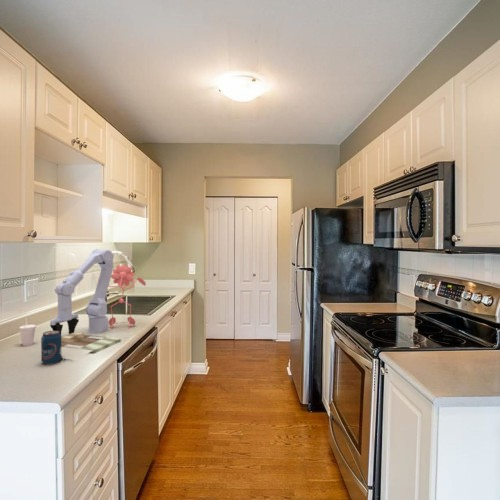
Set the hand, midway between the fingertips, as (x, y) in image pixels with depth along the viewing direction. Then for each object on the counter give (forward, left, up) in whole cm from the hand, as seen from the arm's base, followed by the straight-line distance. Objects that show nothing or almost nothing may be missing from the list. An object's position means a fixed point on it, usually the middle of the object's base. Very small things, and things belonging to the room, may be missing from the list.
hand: (65, 336), depth 160 cm
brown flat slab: (0, +12, -3) cm, 13 cm away
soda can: (+22, +15, -3) cm, 27 cm away
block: (0, +4, -1) cm, 4 cm away
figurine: (-35, +6, -3) cm, 36 cm away
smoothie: (+11, -10, -3) cm, 15 cm away
